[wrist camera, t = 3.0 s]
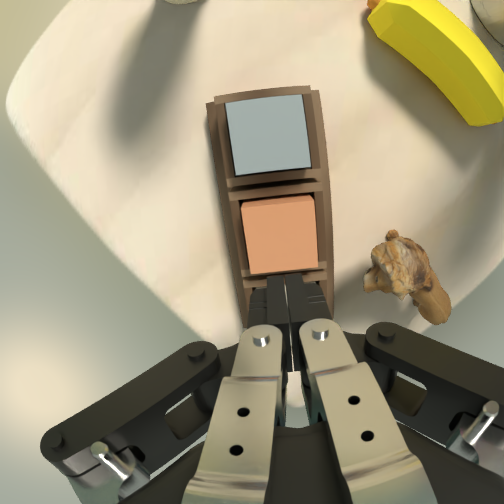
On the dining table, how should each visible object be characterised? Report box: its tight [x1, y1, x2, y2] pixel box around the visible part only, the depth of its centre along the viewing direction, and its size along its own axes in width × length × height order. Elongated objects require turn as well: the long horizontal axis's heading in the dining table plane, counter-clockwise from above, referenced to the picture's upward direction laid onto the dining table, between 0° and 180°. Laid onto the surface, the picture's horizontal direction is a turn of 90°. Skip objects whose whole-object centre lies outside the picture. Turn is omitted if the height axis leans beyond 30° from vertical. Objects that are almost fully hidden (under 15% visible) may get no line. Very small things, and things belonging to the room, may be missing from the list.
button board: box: [206, 85, 334, 328], centre depth 22 cm, size 9×21×4 cm, turn 8°
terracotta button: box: [241, 193, 318, 274], centre depth 20 cm, size 5×5×3 cm
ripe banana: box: [367, 0, 504, 126], centre depth 14 cm, size 18×7×8 cm
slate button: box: [225, 94, 311, 175], centre depth 17 cm, size 5×5×3 cm
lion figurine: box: [363, 230, 451, 325], centre depth 21 cm, size 15×5×9 cm, turn 59°
